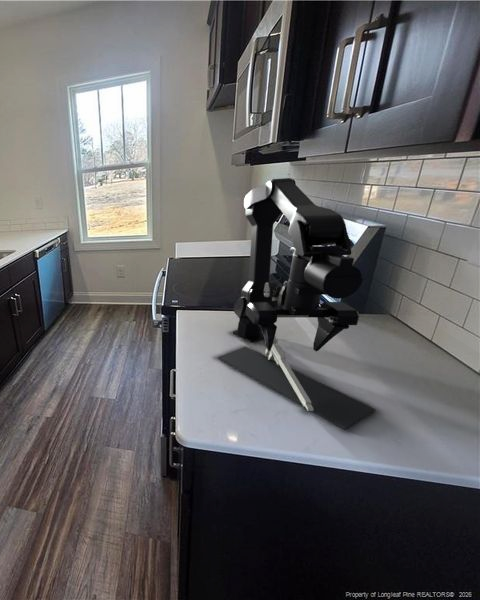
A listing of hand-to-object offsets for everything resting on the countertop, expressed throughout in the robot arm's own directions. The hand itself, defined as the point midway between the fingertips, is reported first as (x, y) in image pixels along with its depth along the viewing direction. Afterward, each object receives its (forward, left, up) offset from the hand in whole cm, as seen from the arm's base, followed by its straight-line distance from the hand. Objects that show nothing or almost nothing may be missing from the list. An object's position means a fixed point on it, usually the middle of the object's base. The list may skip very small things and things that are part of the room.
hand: (291, 349), depth 67 cm
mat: (0, 0, -8) cm, 8 cm away
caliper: (0, 0, -8) cm, 8 cm away
